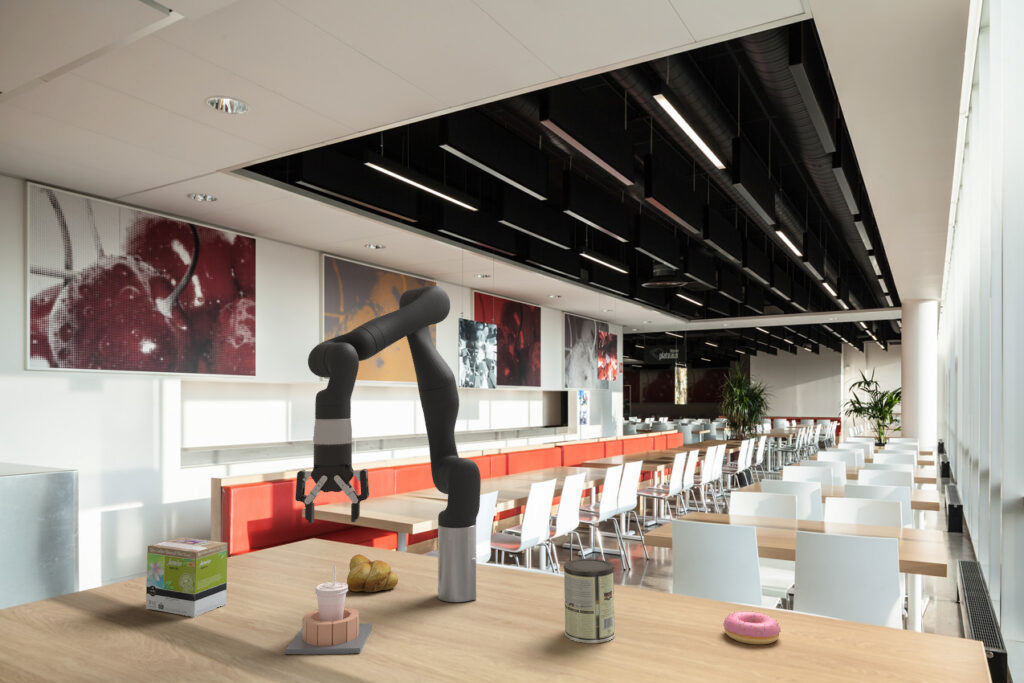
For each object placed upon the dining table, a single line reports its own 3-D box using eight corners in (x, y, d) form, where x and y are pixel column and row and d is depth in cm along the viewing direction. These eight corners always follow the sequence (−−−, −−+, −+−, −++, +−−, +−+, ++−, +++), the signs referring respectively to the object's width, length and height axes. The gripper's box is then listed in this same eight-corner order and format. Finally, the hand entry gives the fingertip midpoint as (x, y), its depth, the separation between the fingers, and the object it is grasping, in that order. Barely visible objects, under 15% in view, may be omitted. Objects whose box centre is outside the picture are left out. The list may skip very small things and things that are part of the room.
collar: (371, 628, 147) (372, 603, 148) (359, 653, 133) (360, 626, 134) (304, 629, 147) (304, 604, 147) (285, 654, 133) (285, 627, 133)
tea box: (143, 610, 160) (145, 544, 161) (179, 598, 169) (181, 535, 170) (193, 618, 154) (195, 550, 155) (228, 605, 163) (229, 540, 164)
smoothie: (339, 642, 136) (339, 569, 137) (308, 640, 138) (309, 567, 139) (352, 631, 143) (353, 561, 144) (323, 629, 144) (324, 559, 145)
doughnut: (712, 632, 144) (711, 612, 145) (753, 625, 149) (753, 605, 149) (749, 651, 134) (748, 628, 135) (793, 642, 139) (792, 621, 139)
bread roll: (401, 585, 180) (402, 553, 180) (391, 596, 170) (391, 562, 171) (353, 583, 181) (353, 552, 182) (339, 594, 172) (340, 561, 172)
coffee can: (571, 624, 150) (570, 556, 150) (619, 629, 146) (618, 560, 147) (558, 640, 140) (557, 568, 141) (609, 646, 136) (608, 572, 137)
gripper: (371, 439, 146) (371, 518, 145) (302, 440, 146) (301, 519, 145) (365, 442, 139) (364, 525, 138) (292, 443, 138) (291, 526, 137)
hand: (332, 522), depth 141 cm, fingers open, 8 cm apart
